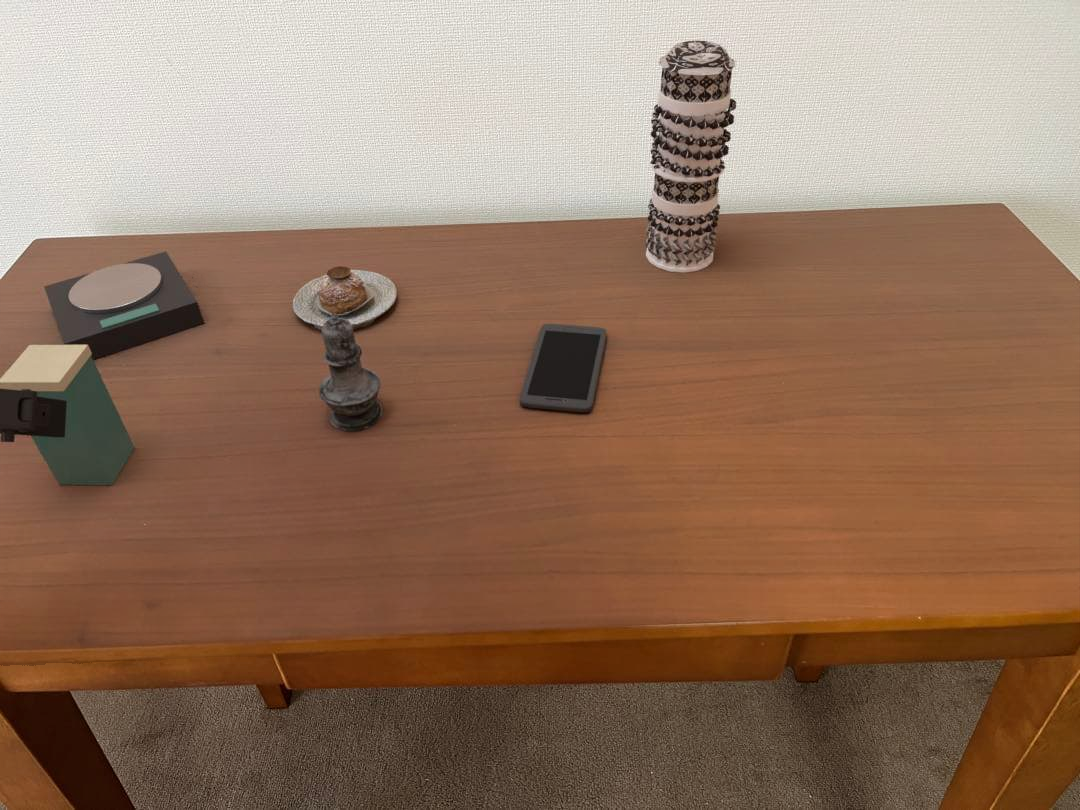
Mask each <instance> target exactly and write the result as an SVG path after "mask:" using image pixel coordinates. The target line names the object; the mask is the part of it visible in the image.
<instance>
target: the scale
mask: <svg viewBox="0 0 1080 810" xmlns="http://www.w3.org/2000/svg"><path fill="white" fill-rule="evenodd" d="M128 263H139V264H146V265H150V266H153V267H154V268H156V269H157V270H158V271H159V272H160V274H161V277H162V285H161V287H160V289H159V290H158V291H157V293H156V294H154V295H153V296H152V297H151V298H149V299H148V300H146V301H144V302H143V303H141V304H139V305H136V306H134V307H131V308H128V309H125V310H122V311H117V312H112V313H104V314H92V313H85V312H81V311H79V310H77V309H75V308H74V307H73V306H72V304H71V303H70V300H69V292H70V290H71V288H72V287H73V286H74V284H75V283H77V282H78V281H79V280H80V279H82V278H83V277H85V276H87V275H89V274H90V273H93V272H94V271H92V272H89V273H85V274H81V275H79V276H74V277H72V278H68V279H65V280H61V281H58V282H55V283H51V284H48V285H44V287H43V288H44V290H45V294H46V296H47V299H48V302H49V304H50V305H49V306H50V307H51V310H52V314H53V316H54V319H55V322H56V325H57V327H58V330H59V333H60V336H61V340H62V342H63V345H88V346H89V348H90V350H91V352H92V355H91V357H92V359H93V361H95V360H98V359H100V358H103V357H106V356H109V355H112V354H115V353H118V352H121V351H124V350H127V349H131V348H133V347H137V346H139V345H143V344H145V343H149V342H151V341H154V340H157V339H161V338H163V337H167V336H170V335H172V334H176V333H179V332H182V331H186V330H189V329H191V328H195V327H197V326H200V325H203V324H205V319H204V317H203V315H202V312H201V309H200V306H199V302H198V300H197V299H196V298H195V296H194V294H193V293H192V291H191V289H190V287H189V286H188V284H187V283H186V281H185V280H184V278H183V276H182V274H181V273H180V271H179V270H178V268H177V266H176V265H175V263H174V261H173V260H172V258H171V257H170V255H169V254H168V252H167V250H166V251H161V252H157V253H154V254H151V255H148V256H145V257H140V258H138V259H134V260H131V261H130V260H129V261H126V262H123V263H122V264H128Z"/></svg>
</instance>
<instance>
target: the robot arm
mask: <svg viewBox="0 0 1080 810" xmlns="http://www.w3.org/2000/svg"><path fill="white" fill-rule="evenodd" d="M66 405H67V401H65V400H58V399H51V398H44V397H38V396H37V392H35V391H31V389H22V390H11V389H1V388H0V443H15V438H16V437H15V435H16V436H29V437H31V436H41V437H65V424H66Z"/></svg>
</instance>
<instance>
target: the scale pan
mask: <svg viewBox="0 0 1080 810" xmlns="http://www.w3.org/2000/svg"><path fill="white" fill-rule="evenodd" d="M92 272H93V273H92ZM92 272H89V273H90V274H89V273H88V274H89V275H87V276H85V277H83V278H82V279H80V280H79V281H78V282H77V283H75V284H74V286H73V287H72V288H71V290H70V292H69V300H70V303H71V304H72V306H73V307H74V308H75V309H77V310H79V311H81V312H85V313H92V314H104V313H112V312H117V311H122V310H125V309H128V308H131V307H134V306H136V305H139V304H141V303H143V302H144V301H146V300H148V299H149V298H151V297H152V296H153V295H154V294H156V293H157V291H158V290H159V289H160V287H161V285H162V277H161V274H160V272H159V271H158V270H157V269H156V268H154V267H153V266H150V265H146V264H139V263H128V264H123V263H120V264H114V265H111V266H105V267H104V268H100V269H98V270H94V271H92Z"/></svg>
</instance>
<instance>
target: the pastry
mask: <svg viewBox="0 0 1080 810" xmlns="http://www.w3.org/2000/svg"><path fill="white" fill-rule="evenodd" d="M397 292H398V290H397V287H396V285H395V284H394V282H393V281H392V280H391V279H390V278H388V277H386V276H384V275H382V274H379V273H378V272H374V271H370V270H362V269H350V268H349V267H347V266H342V265H341V266H334V267H332V268H330V269H328V270H327V272H326V274H324V275H321V276H320V277H317V278H314V279H312V280H310V281H309V282H307V283H305V284H304V285H303V286H302V287H301V288H299V289H298V291H297V292H296V294H295V296H294V297H293V300H292V310H293V312H294V314H295V315H296V316H297V317H298V318H299V319H301V320H302V321H304V322H305V323H307V324H310V325H313V327H314V329H316V330H319V331H322V326H323V324H324V323H325V322H326V321H327V320H329V319H331V318H330V316H331V314H332V313H333V312H334V313H336V314H337V315H338V317H340V318H345V319H346V320H348V321H349V322H350V323H351V325H352V328H353V330H356V329H359V328H365V327H367V326H369V325H371V324H372V323H373V322H375V320H376V318H378V317H380V316H381V315H383V314H385V313H386V312H387V311H388V310H390V309H391V307H392V306H393V305H394V304H395V302H396V299H397V296H398V294H397Z"/></svg>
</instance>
